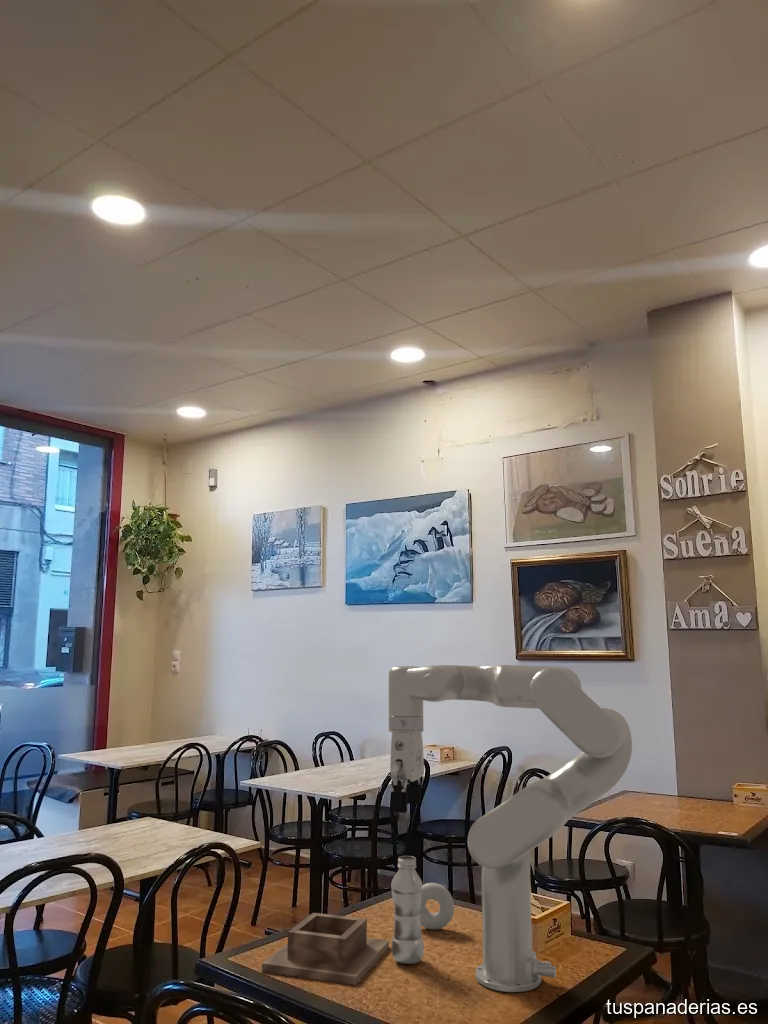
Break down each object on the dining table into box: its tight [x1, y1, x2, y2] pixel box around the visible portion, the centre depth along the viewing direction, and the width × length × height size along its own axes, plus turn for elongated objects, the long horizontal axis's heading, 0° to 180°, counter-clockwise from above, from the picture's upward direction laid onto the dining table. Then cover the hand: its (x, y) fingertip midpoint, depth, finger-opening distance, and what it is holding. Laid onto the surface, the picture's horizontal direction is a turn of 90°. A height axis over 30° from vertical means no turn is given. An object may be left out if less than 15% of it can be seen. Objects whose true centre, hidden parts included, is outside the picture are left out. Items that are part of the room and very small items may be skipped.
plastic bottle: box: [390, 855, 425, 965], centre depth 159 cm, size 6×7×20 cm
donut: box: [420, 882, 455, 931], centre depth 177 cm, size 10×4×10 cm, turn 80°
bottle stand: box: [261, 912, 390, 986], centre depth 160 cm, size 20×20×6 cm
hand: (406, 807), depth 163 cm, fingers open, 9 cm apart
